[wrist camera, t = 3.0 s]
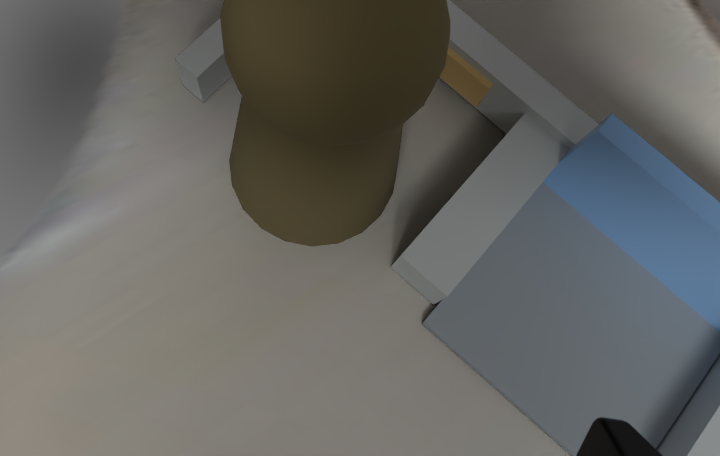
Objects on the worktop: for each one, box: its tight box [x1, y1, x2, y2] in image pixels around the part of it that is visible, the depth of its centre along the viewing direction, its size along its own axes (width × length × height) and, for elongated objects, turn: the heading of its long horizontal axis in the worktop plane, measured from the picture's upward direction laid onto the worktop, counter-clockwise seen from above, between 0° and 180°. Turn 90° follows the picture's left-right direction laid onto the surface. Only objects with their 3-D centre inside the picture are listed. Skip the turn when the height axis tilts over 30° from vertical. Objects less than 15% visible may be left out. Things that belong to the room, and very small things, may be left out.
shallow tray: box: [175, 0, 720, 456], centre depth 22 cm, size 9×22×5 cm, turn 49°
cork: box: [220, 0, 451, 246], centre depth 19 cm, size 6×6×11 cm
